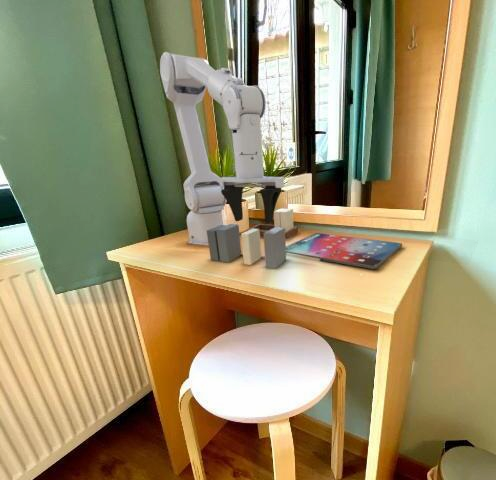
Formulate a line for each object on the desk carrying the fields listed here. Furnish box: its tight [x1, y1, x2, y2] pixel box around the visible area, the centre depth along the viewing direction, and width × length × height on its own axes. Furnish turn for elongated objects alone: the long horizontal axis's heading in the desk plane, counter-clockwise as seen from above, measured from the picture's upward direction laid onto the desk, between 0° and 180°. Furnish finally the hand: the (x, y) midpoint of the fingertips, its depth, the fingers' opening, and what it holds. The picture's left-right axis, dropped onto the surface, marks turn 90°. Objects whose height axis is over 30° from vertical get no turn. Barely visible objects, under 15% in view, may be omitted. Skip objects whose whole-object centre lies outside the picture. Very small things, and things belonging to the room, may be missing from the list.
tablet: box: [286, 232, 403, 270], centre depth 75 cm, size 19×25×1 cm
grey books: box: [207, 223, 287, 270], centre depth 69 cm, size 17×6×8 cm, turn 66°
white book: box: [240, 229, 262, 266], centre depth 68 cm, size 2×5×7 cm, turn 156°
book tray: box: [245, 223, 299, 240], centre depth 90 cm, size 13×8×2 cm, turn 66°
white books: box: [273, 208, 294, 233], centre depth 87 cm, size 4×5×7 cm
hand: (253, 221), depth 67 cm, fingers open, 7 cm apart
